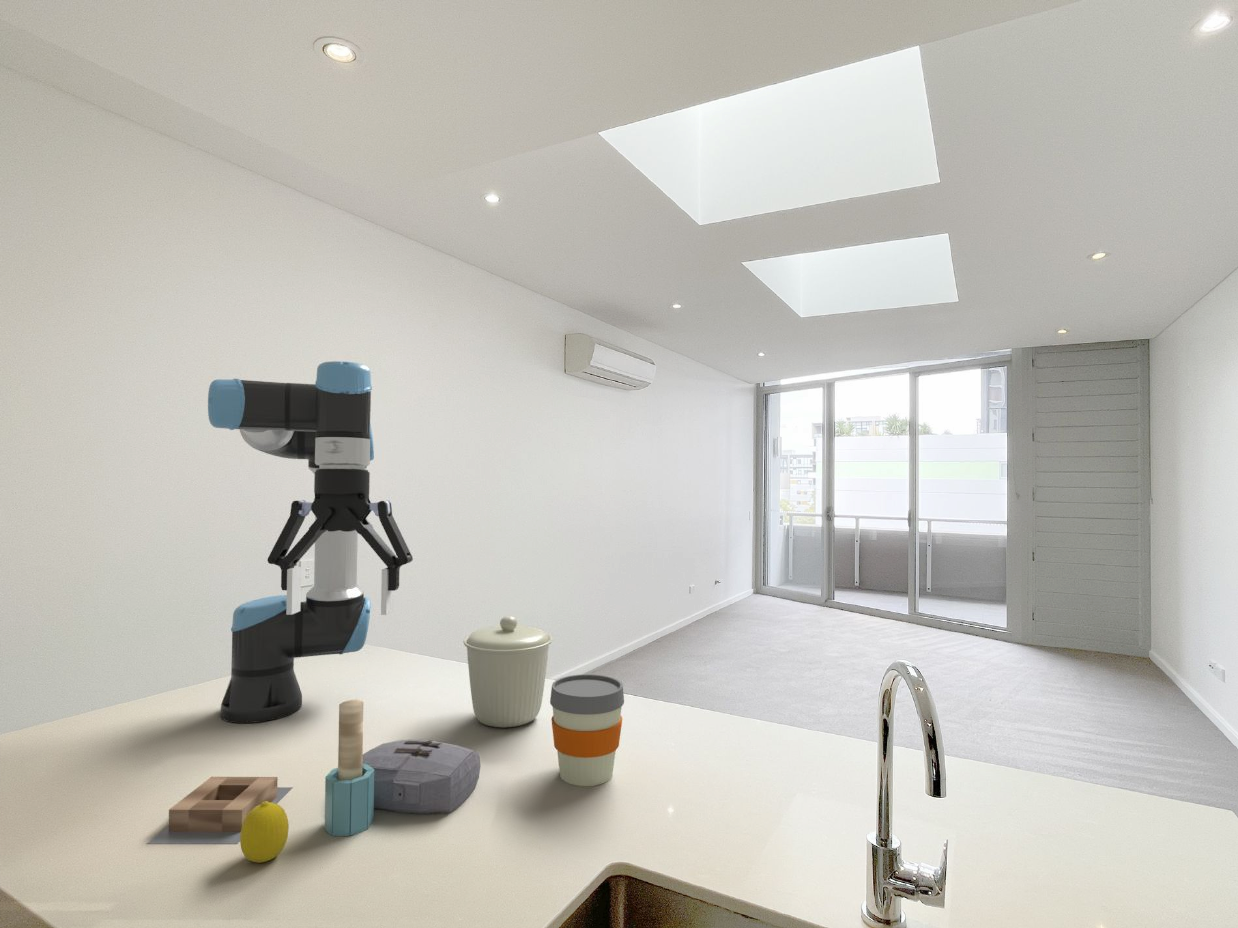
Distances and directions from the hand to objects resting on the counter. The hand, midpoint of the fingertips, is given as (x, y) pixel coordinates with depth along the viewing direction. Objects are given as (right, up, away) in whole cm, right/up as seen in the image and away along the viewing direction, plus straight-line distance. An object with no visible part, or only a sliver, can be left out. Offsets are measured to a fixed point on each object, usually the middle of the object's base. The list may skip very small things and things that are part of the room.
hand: (340, 613), depth 98 cm
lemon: (-5, -30, -12) cm, 33 cm away
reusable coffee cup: (+35, -31, +16) cm, 49 cm away
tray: (-16, -30, -1) cm, 34 cm away
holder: (-16, -29, 0) cm, 33 cm away
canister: (+18, -31, +40) cm, 54 cm away
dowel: (+3, -29, -3) cm, 29 cm away
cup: (+3, -30, -3) cm, 30 cm away
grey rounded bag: (+8, -31, +7) cm, 32 cm away
